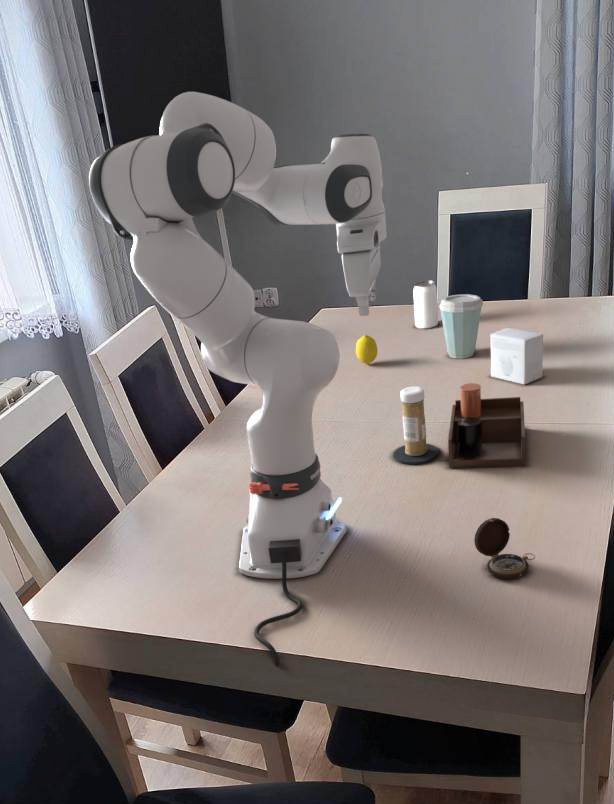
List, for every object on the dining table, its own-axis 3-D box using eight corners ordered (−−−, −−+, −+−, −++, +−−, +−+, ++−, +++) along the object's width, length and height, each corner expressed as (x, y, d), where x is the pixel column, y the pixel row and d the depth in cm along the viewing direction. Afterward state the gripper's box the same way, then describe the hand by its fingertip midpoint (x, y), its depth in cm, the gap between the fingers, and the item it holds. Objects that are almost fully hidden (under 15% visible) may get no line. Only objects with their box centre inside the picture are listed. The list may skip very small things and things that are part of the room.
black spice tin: (481, 458, 171) (481, 425, 167) (458, 459, 172) (457, 426, 168) (482, 448, 174) (481, 416, 171) (459, 449, 175) (458, 417, 172)
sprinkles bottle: (432, 451, 176) (428, 388, 169) (415, 459, 174) (411, 395, 167) (416, 445, 179) (412, 383, 172) (399, 453, 177) (395, 390, 171)
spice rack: (525, 465, 165) (525, 431, 162) (449, 468, 169) (448, 435, 166) (523, 428, 180) (523, 396, 176) (453, 431, 184) (452, 400, 180)
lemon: (382, 361, 228) (379, 331, 224) (372, 369, 224) (370, 338, 220) (363, 360, 231) (360, 331, 227) (353, 367, 227) (350, 338, 223)
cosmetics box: (543, 376, 202) (544, 332, 197) (524, 385, 199) (524, 341, 194) (508, 368, 210) (508, 325, 205) (489, 376, 207) (489, 333, 202)
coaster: (437, 463, 172) (436, 461, 171) (391, 465, 174) (390, 462, 174) (439, 444, 179) (439, 442, 179) (395, 446, 182) (395, 444, 181)
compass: (504, 585, 132) (503, 544, 129) (473, 562, 139) (472, 523, 136) (547, 568, 135) (548, 527, 131) (514, 547, 141) (514, 507, 138)
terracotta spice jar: (481, 418, 175) (480, 390, 172) (460, 419, 176) (459, 391, 173) (481, 410, 178) (480, 382, 175) (461, 411, 179) (460, 383, 177)
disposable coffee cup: (451, 346, 230) (449, 289, 222) (490, 349, 224) (490, 290, 216) (434, 360, 223) (431, 302, 215) (473, 363, 217) (472, 303, 209)
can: (415, 330, 247) (412, 287, 241) (415, 323, 252) (412, 281, 246) (438, 327, 245) (436, 285, 239) (438, 321, 251) (436, 279, 245)
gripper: (352, 220, 165) (358, 293, 172) (335, 245, 148) (343, 325, 155) (385, 216, 163) (390, 290, 170) (372, 241, 147) (378, 322, 153)
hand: (368, 307), depth 163 cm, fingers open, 8 cm apart
